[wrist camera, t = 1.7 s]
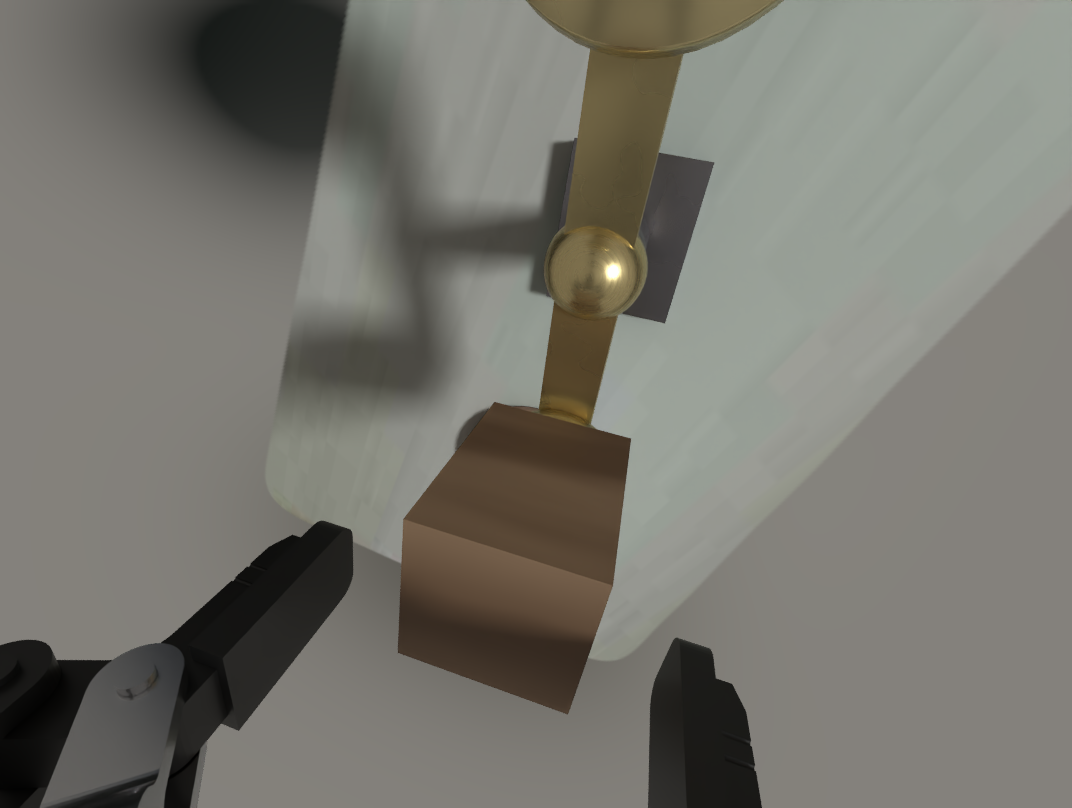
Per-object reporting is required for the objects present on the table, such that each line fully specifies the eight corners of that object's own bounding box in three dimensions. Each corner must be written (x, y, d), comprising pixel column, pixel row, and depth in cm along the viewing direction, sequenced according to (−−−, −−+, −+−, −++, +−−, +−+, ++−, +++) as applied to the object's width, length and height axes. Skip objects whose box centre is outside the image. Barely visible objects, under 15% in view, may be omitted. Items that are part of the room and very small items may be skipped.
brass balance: (613, -48, 18) (469, -737, 5) (770, -30, 17) (1163, -812, 4) (533, 387, 27) (405, 588, 13) (635, 413, 26) (606, 657, 13)
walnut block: (494, 401, 15) (403, 519, 10) (630, 438, 14) (613, 585, 9) (479, 508, 17) (397, 652, 12) (598, 544, 16) (567, 714, 11)
